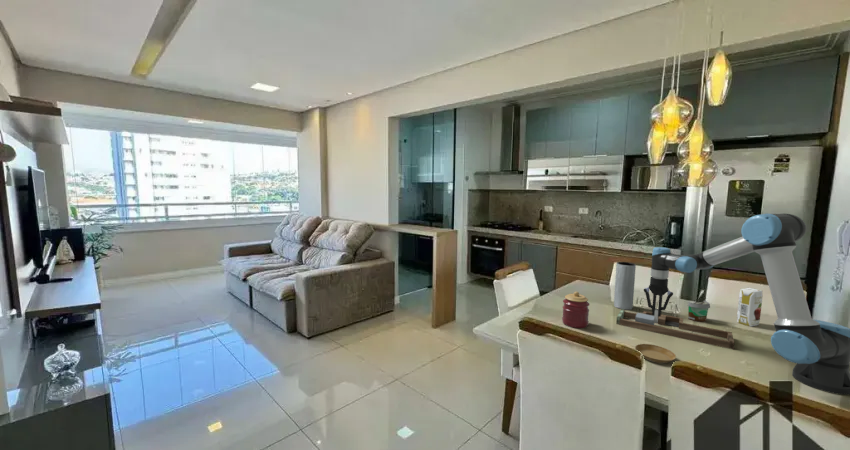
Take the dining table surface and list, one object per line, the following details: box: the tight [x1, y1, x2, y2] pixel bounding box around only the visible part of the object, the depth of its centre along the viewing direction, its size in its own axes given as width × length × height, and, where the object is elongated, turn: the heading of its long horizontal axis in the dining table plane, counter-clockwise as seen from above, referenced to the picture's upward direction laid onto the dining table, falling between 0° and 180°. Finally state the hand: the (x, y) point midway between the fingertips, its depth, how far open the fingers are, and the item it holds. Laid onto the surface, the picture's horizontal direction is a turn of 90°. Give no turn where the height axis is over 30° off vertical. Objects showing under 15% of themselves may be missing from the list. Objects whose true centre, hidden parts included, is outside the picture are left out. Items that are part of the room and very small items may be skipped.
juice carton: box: [736, 287, 763, 327], centre depth 184 cm, size 8×9×19 cm
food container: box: [687, 300, 711, 323], centre depth 188 cm, size 12×6×10 cm, turn 105°
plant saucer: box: [634, 343, 677, 364], centre depth 148 cm, size 15×15×3 cm
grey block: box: [634, 312, 656, 325], centre depth 182 cm, size 8×8×5 cm
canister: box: [561, 291, 590, 329], centre depth 183 cm, size 13×13×18 cm
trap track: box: [615, 309, 735, 350], centre depth 178 cm, size 22×47×4 cm, turn 52°
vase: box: [613, 261, 637, 311], centre depth 209 cm, size 10×10×27 cm
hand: (655, 321), depth 179 cm, fingers closed
